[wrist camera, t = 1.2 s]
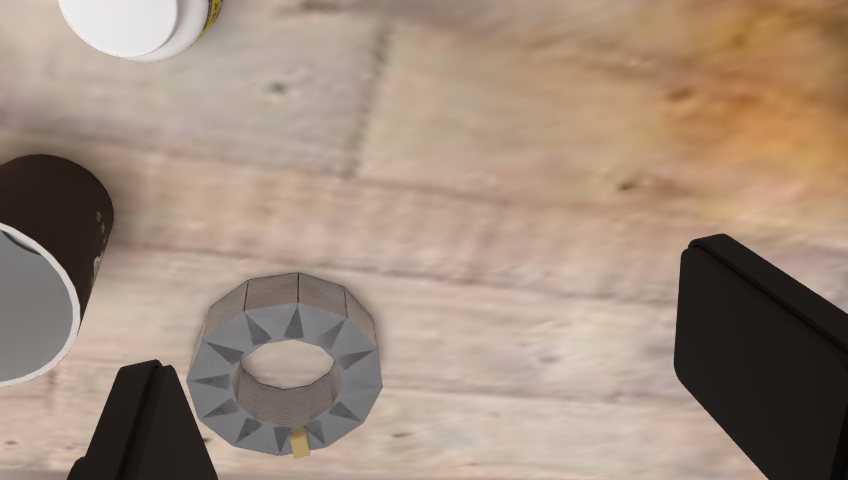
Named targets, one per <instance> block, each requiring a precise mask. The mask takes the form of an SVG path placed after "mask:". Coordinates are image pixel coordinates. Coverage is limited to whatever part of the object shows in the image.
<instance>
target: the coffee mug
mask: <svg viewBox="0 0 848 480" xmlns="http://www.w3.org/2000/svg"><path fill="white" fill-rule="evenodd" d="M113 221H114V219H113V207H112V202H111V199H110V197H109V195H108V193H107V191H106V189H105V188H104V187H103V185H102V184H101V183H100V181H99V180H98V179H97V178H96V177H95V176H94V175H93V174H92V173H90V172H89V171H88V170H86V169H85V168H83V167H82V166H80V165H78V164H76V163H74V162H72V161H70V160H67V159H64V158H61V157H57V156H52V155H44V154H38V155H27V156H22V157H18V158H16V159H13V160H11V161H9V162H7V163H5V164H3V165H1V166H0V387H7V386H11V385H15V384H19V383H23V382H27V381H29V380H31V379H33V378H36V377H38V376H40V375H42V374H44V373H46V372H47V371H48V370H50V369H51V368H53V367H54V366H56V365H57V364H58V363H59V362H60V361H61V360H62V359H63V358H64V357H65V356H66V354H67V353H68V352H69V351H70V349H71V347H72V345H73V343H74V341H75V340H76V338H77V335H78V332H79V329H80V326H81V322H82V319H83V316H84V313H85V310H86V307H87V304H88V301H89V298H90V294H91V291H92V288H93V285H94V282H95V279H96V276H97V273H98V270H99V266H100V263H101V260H102V257H103V254H104V251H105V248H106V245H107V242H108V239H109V235H110V232H111V229H112V225H113Z"/></svg>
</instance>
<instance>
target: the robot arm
mask: <svg viewBox="0 0 848 480" xmlns="http://www.w3.org/2000/svg"><path fill="white" fill-rule="evenodd" d="M674 369H675V372H676V375H677V377H678V379H679V380H680V382H681V383H682V384H683V385H684V386H685V388H686V389H687V390H688V391H689V392H690V393H691V394H692V395H693V396H694V398H695V399H696V400H697V401H698V402H699V403H700V404H701V405H702V406H703V407H704V409H705V410H706V411H707V412H708V413H709V414H710V415H711V416H712V417H713V419H714V420H715V421H716V422H717V423H718V424H719V425H720V426H721V427H722V429H723V430H724V431H725V432H726V433H727V434H728V435H729V436H730V437H731V438H732V440H733V441H734V442H735V443H736V444H737V445H738V446H739V447H740V448H741V450H742V451H743V452H744V453H745V454H746V455H747V456H748V457H749V458H750V460H751V461H752V462H753V463H754V464H755V465H756V466H757V467H758V468H759V469H760V471H761V472H762V473H763V474H764V475H765V476H766V477H767V478H768V479H769V480H848V314H847V313H845V312H844V311H842V310H841V309H839V308H838V307H836V306H835V305H833V304H832V303H830V302H829V301H827V300H826V299H824V298H823V297H821V296H820V295H818V294H817V293H815V292H813V291H812V290H810V289H809V288H807V287H806V286H804V285H803V284H801V283H800V282H798V281H797V280H795V279H794V278H792V277H791V276H789V275H788V274H786V273H785V272H783V271H782V270H780V269H779V268H777V267H775V266H774V265H772V264H771V263H769V262H768V261H766V260H765V259H763V258H762V257H760V256H759V255H757V254H756V253H754V252H753V251H751V250H750V249H748V248H747V247H745V246H744V245H742V244H740V243H739V242H737V241H736V240H734V239H733V238H731V237H730V236H728V235H726V234H717V235H712V236H708V237H703V238H699V239H694V240H692V241H691V242H690V244H689V245H688V249H685V250H684V251H683V252H682V255H681V264H680V278H679V293H678V307H677V322H676V337H675V351H674ZM67 480H218V478H217V474H216V472H215V469H214V467H213V464H212V462H211V459H210V457H209V454H208V452H207V449H206V447H205V444H204V442H203V439H202V437H201V434H200V431H199V429H198V426H197V424H196V421H195V419H194V416H193V414H192V411H191V409H190V406H189V404H188V401H187V399H186V396H185V394H184V391H183V389H182V386H181V384H180V381H179V379H178V376H177V374H176V371H175V369H174V368H173V366H171V365H167V366H162V364H161V363H160V361H159V360H156V359H155V360H151V361H146V362H142V363H137V364H133V365H128V366H124V367H121V368H120V370H119V371H118V373H117V376H116V379H115V381H114V384H113V386H112V389H111V391H110V394H109V396H108V399H107V402H106V404H105V407H104V409H103V412H102V414H101V417H100V420H99V422H98V425H97V427H96V430H95V432H94V435H93V438H92V440H91V443H90V445H89V448H88V450H87V453H86V455H85V456H84V457H81V458H79V459H78V460H77V461H76V462H75V463H74V465H73V467H72V468H71V471H70V473H69V475H68V478H67Z"/></svg>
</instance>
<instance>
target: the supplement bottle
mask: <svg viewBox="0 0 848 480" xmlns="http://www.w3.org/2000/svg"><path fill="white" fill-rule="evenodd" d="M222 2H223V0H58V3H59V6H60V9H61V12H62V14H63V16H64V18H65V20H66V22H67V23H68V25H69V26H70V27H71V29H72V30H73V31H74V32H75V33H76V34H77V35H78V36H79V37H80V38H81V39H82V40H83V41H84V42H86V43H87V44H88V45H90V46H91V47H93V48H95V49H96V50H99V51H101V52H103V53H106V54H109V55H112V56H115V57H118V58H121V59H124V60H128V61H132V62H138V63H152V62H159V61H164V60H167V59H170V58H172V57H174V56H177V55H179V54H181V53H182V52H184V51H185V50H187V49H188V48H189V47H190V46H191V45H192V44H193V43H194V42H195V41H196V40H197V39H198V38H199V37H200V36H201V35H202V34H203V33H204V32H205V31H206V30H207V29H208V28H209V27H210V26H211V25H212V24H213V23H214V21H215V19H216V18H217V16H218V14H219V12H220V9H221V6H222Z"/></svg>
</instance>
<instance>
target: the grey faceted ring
mask: <svg viewBox="0 0 848 480" xmlns="http://www.w3.org/2000/svg"><path fill="white" fill-rule="evenodd" d="M292 339H295V340H298V341H302V342H306V343H309V344H313V345H316V346H320V347H322V348H323V349H324V350H325V351H326V352H327V353H328V354H329V355H330V356H331V357H332V358H333V359H334V360H335V362H334V364H333V366H332V368H331V370H330V372H329V373H328V374H326V375H325V376H323V377H322V378H320V379H319V380H317V381H316V382H314V383H313V384H311V385H310V386H304V387H298V388H292V389H287V390H283V389H279V388H275V387H271V386H267V385H262V384H259V383H258V382H257V381H256V380H255V379H254V378H252V377H251V376H250V375H249V374H248V373H247V372H246V371H244V370H243V369H242V366H241V362H240V361H241V360H242V359H243V358H244V357H246V356H247V355H249V354H250V353H252V352H253V351H254V350H256V349H257V348H259V347H260V346H262V345H263V344H267V343H273V342H279V341H285V340H292ZM186 382H187V385H188V388H189V391H190V394H191V397H192V401H193V404H194V407H195V410H196V413H197V416H198V419H199V420H200V421H201V422H202V423H204V424H205V425H206V426H208V427H209V428H210V429H211V430H213V431H214V432H215V433H217V434H218V435H219V436H220V437H222V438H223V439H224V440H226V441H227V442H228V443H229V444H231V445H232V446H233V445H234V447H239V448H243V449H248V450H253V451H258V452H263V453H267V454H272V455H277V456H279V455H280V456H282V455H288V454H294V458H299V457H305V456H310V450H315V449H320V448H326V447H328V446H329V445H331V444H332V443H334V442H335V441H337V440H338V439H340V438H341V437H343V436H344V435H346V434H347V433H349V432H350V431H352V430H354V429H355V428H357V427H358V426H360V425H361V424H363V422H364V421H365V419H366V418H367V416H368V414H369V412H370V410H371V408H372V406H373V405H374V403H375V401H376V399H377V397H378V395H379V393H380V392H381V390H382V387H383V385H382V377H381V370H380V362H379V354H378V347H377V342H376V336H375V331H374V326H373V320H372V317H371V316H370V315H369V314H368V312H367V311H366V310H365V309H364V308H363V307H362V306H361V305H360V304H359V303H358V302H357V301H356V300H355V298H354V297H353V296H352V295H351V294H350V293H349V292H348V291H347V290H346V289H345V288H343V287H342V286H339V285H336V284H333V283H330V282H327V281H323V280H320V279H317V278H314V277H311V276H308V275H304V274H301V273H299V274H298V273H292V274H285V275H278V276H271V277H265V278H258V279H251V280H249V281H248V280H247V281H246V282H245V283H243V284H242V285H240V286H239V287H238V288H236V289H235V290H233V291H232V292H231V293H229V294H228V295H226V296H225V297H224V298H222V299H221V300H219V301H218V302H217V303H215V304H214V305H212V306H211V307H210V309H209V311H208V314H207V316H206V319H205V321H204V324H203V326H202V329H201V331H200V334H199V337H198V339H197V342H196V344H195V348H194V352H193V356H192V360H191V364H190V368H189V371H188V375H187V379H186Z"/></svg>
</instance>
